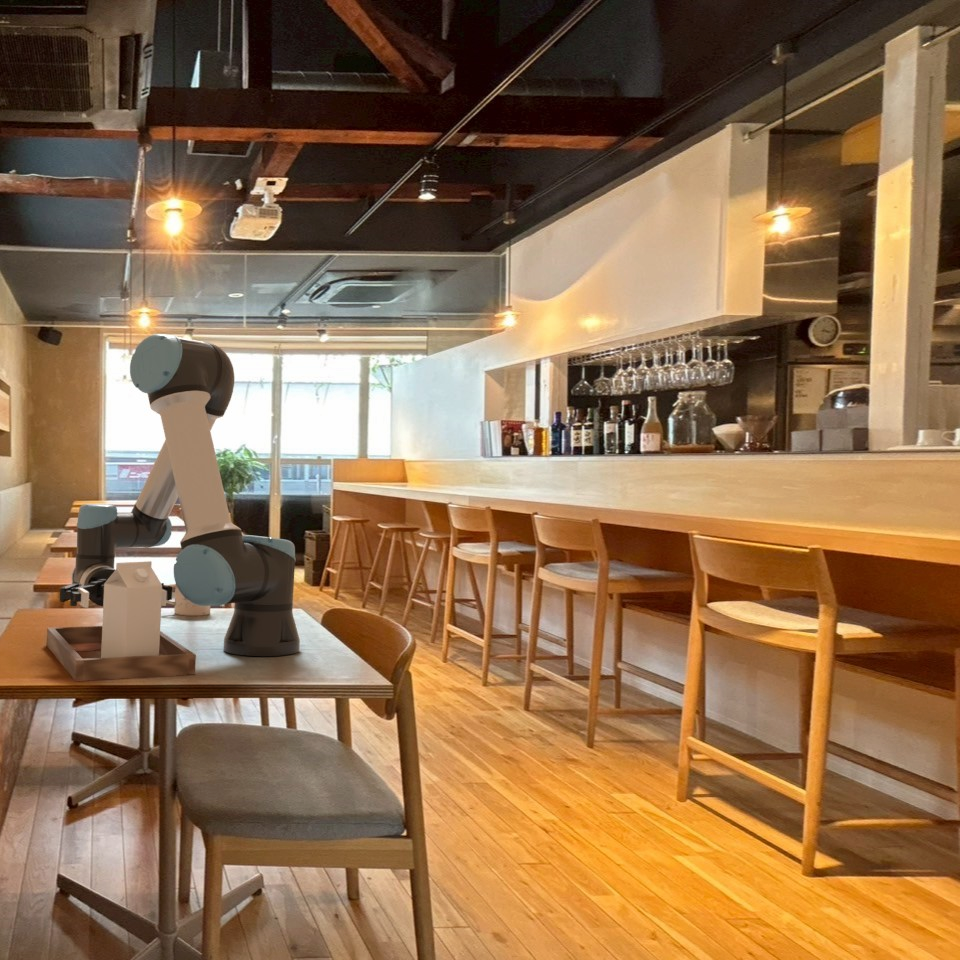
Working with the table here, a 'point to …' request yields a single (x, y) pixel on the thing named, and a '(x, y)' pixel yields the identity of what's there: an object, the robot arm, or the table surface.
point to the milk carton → (131, 611)
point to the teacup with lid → (187, 605)
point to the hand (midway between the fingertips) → (126, 599)
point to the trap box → (90, 638)
